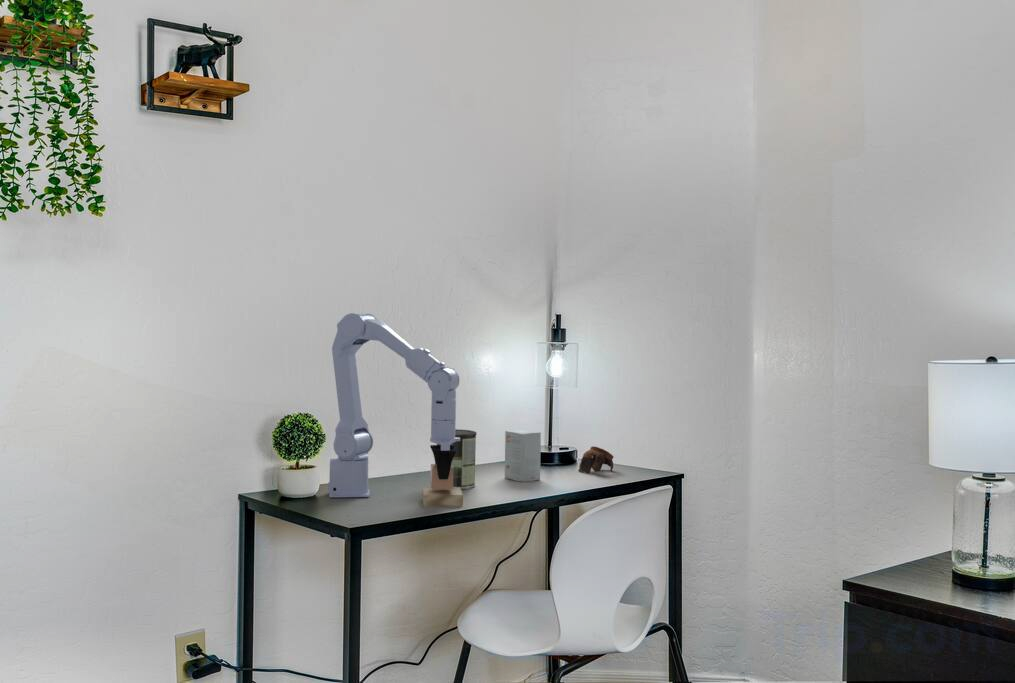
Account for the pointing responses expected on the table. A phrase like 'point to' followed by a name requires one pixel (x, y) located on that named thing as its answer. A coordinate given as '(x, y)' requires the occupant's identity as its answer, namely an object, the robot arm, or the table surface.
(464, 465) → the coffee can
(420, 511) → the table surface
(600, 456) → the brown arch
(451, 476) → the terracotta cube
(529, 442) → the small box
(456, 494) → the oak block
